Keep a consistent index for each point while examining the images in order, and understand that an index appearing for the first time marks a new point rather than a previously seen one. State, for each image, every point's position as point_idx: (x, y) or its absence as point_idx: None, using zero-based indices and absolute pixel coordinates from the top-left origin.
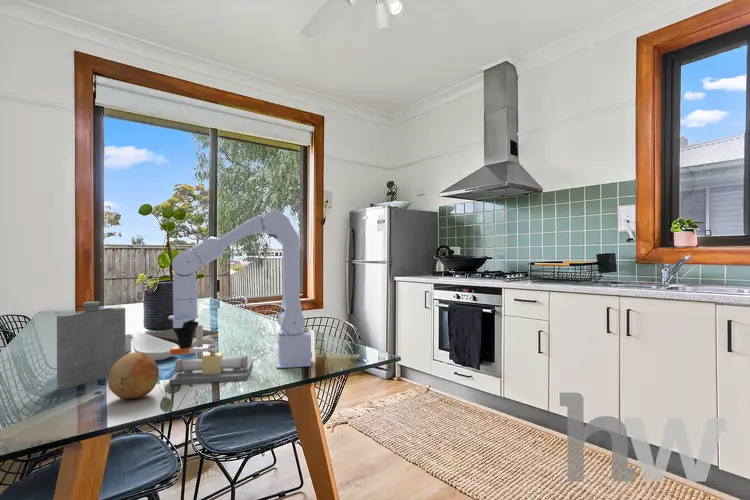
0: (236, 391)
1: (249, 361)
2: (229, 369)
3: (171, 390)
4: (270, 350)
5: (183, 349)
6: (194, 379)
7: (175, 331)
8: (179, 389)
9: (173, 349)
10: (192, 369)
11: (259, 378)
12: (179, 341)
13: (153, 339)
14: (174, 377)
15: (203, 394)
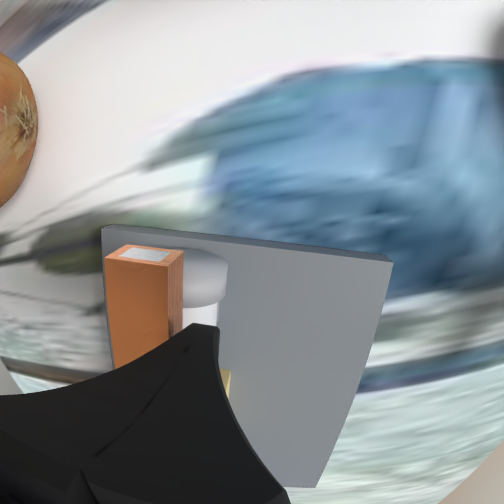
0: None
1: (305, 482)
2: None
3: (54, 245)
4: (458, 480)
5: (116, 354)
6: (109, 327)
7: (28, 402)
8: (60, 272)
9: (109, 283)
10: None
11: None
12: (142, 360)
13: None
14: (133, 244)
15: (26, 342)
